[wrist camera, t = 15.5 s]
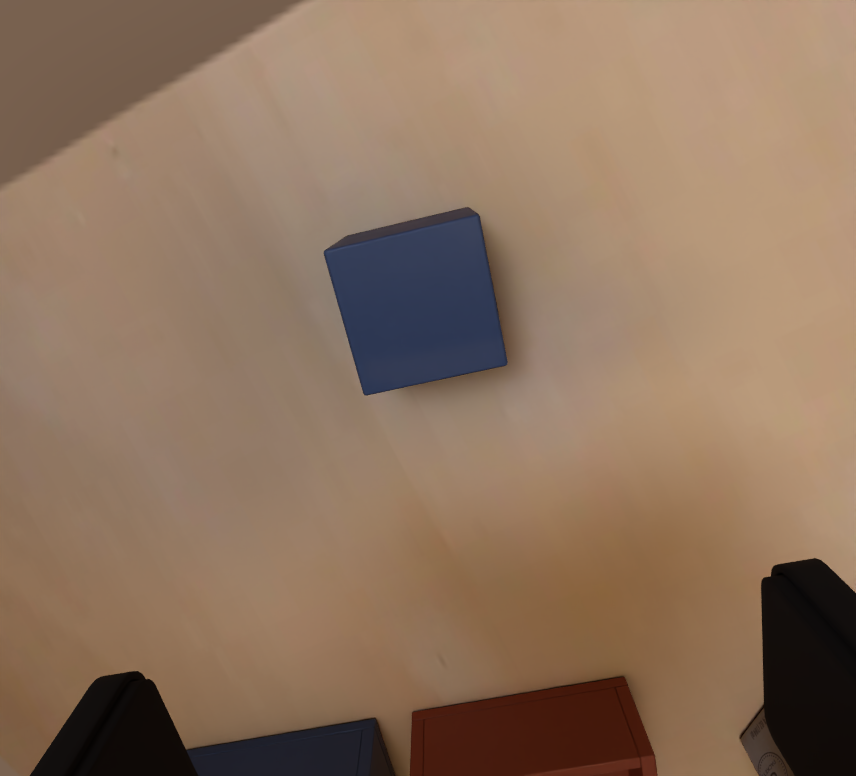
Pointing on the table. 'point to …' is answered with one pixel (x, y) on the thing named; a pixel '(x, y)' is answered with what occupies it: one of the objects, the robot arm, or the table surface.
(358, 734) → the blue bin
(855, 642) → the robot arm
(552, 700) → the terracotta bin
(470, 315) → the blue block
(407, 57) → the table surface
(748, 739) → the coffee box
